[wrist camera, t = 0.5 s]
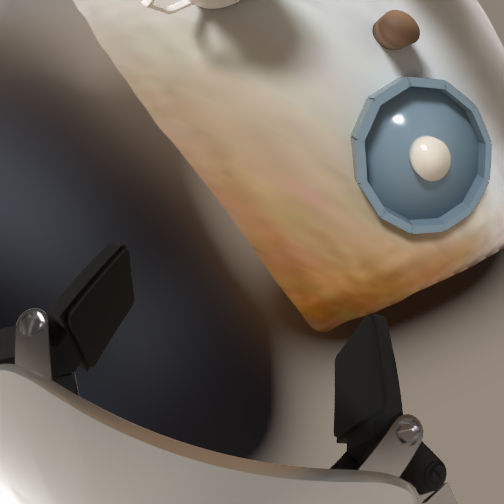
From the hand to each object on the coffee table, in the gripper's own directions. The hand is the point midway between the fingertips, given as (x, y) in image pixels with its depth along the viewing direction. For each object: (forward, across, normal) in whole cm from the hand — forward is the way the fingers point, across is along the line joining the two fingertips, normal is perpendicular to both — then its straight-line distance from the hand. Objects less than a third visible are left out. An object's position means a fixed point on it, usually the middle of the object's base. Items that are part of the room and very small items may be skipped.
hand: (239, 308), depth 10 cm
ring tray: (+28, -18, -6) cm, 34 cm away
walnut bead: (+28, -9, -20) cm, 36 cm away
